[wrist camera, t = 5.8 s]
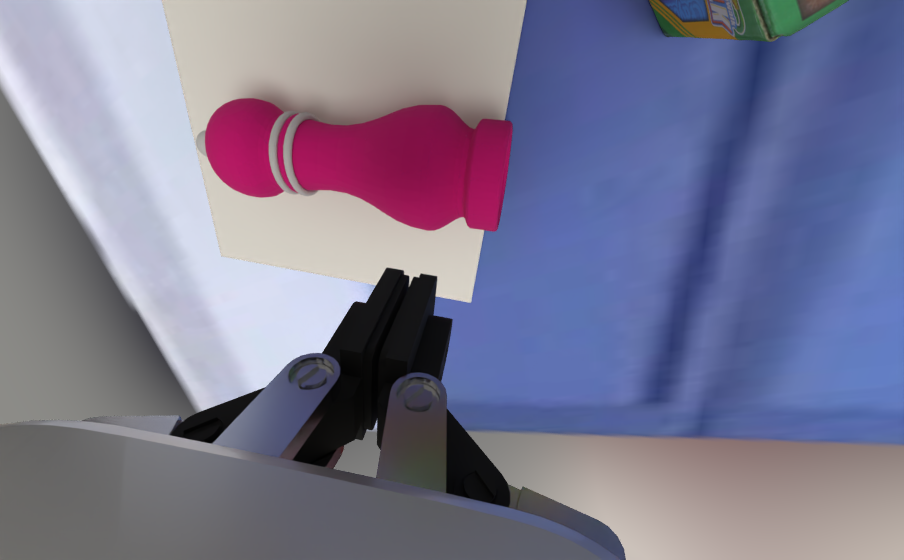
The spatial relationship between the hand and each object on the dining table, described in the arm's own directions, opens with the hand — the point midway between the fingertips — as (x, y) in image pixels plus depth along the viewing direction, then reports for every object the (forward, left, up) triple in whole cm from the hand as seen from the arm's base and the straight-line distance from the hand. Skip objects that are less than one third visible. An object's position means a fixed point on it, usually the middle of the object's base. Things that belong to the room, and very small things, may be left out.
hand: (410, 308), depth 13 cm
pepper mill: (-1, +3, -13) cm, 13 cm away
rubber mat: (0, -9, -17) cm, 19 cm away
